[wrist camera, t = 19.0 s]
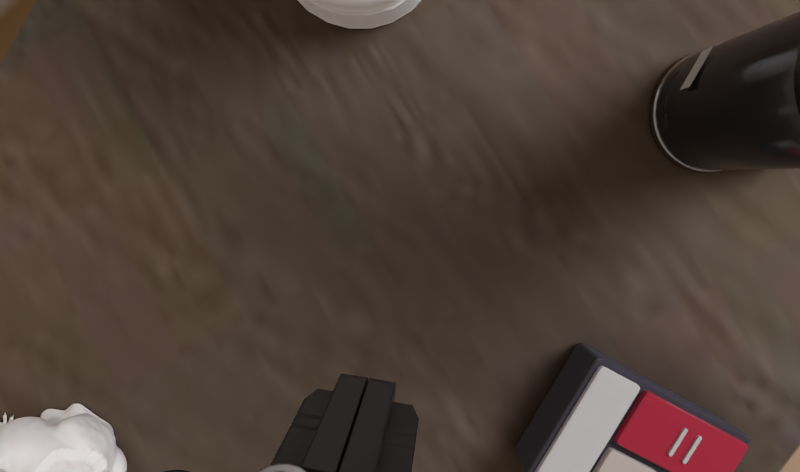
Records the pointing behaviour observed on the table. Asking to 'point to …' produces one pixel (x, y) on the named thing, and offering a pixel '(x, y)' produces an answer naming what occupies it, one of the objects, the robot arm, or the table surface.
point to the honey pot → (359, 11)
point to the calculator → (623, 425)
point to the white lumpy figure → (60, 443)
